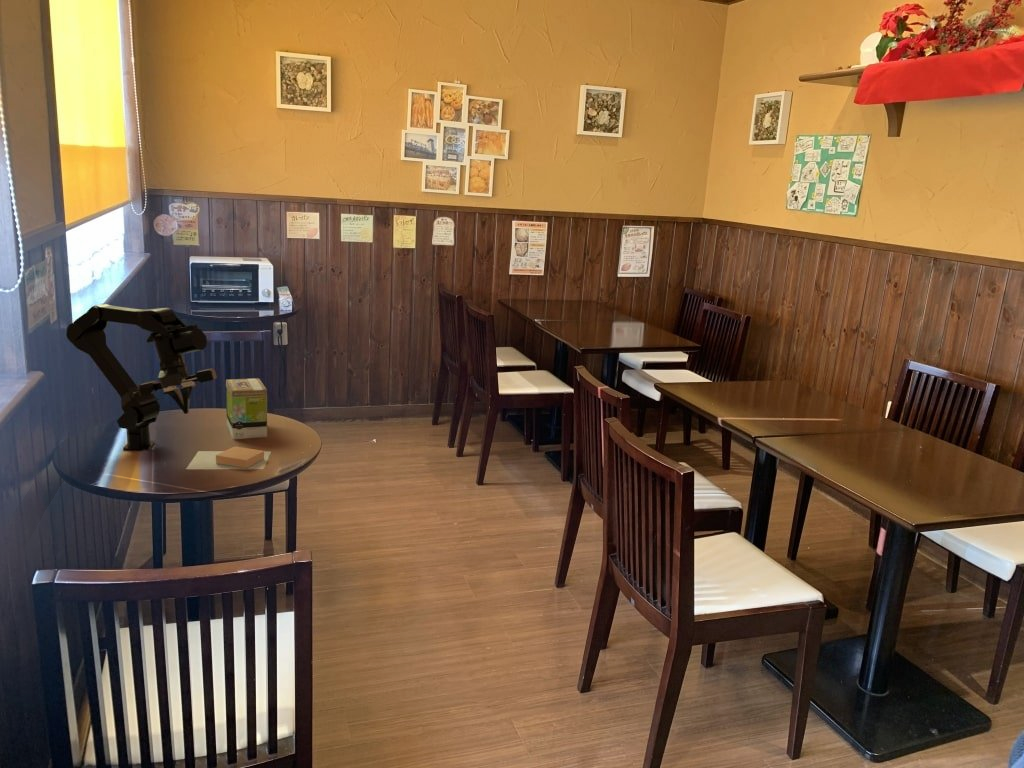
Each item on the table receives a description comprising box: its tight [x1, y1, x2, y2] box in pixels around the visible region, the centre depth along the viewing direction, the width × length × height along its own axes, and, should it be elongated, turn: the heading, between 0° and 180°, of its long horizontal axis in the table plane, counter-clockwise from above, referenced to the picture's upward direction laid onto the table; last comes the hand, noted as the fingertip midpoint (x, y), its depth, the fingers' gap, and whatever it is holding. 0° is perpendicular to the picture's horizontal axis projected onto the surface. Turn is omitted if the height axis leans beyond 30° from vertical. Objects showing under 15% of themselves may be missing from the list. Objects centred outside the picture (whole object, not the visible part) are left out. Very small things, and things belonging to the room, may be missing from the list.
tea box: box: [225, 377, 268, 440], centre depth 227 cm, size 15×10×15 cm, turn 26°
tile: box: [216, 446, 265, 470], centre depth 203 cm, size 2×8×9 cm
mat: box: [185, 450, 272, 470], centre depth 204 cm, size 14×19×1 cm
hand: (186, 413), depth 205 cm, fingers closed
